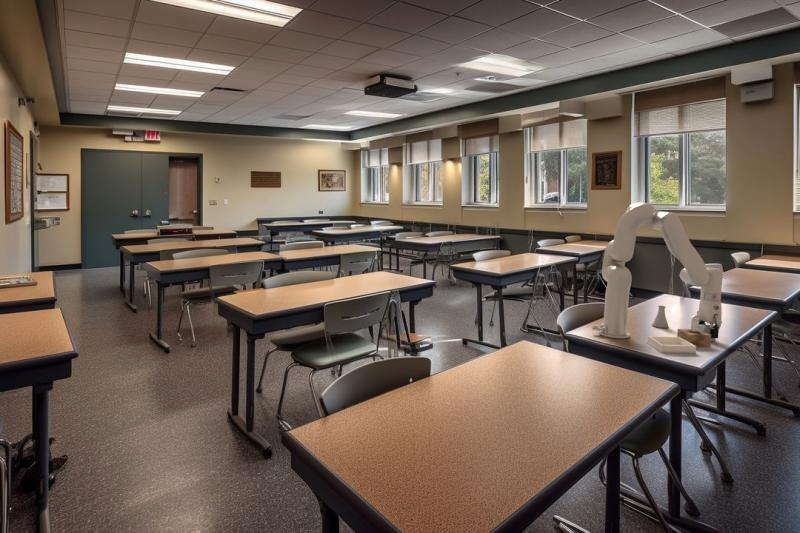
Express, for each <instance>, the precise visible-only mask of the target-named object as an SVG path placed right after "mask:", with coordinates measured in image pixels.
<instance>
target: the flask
mask: <svg viewBox="0 0 800 533" xmlns="http://www.w3.org/2000/svg"><path fill="white" fill-rule="evenodd" d="M657 307H658V310H657V314H656V316H655V318H654V319H653V322H652V324H651V326H652V327H655V328H661V329H667V328H670V327H669V323H668V321H667V320H668V319H667V317H666V311H665V310H666V308H667V306H665V305H658V306H657Z"/></svg>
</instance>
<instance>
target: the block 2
mask: <svg viewBox="0 0 800 533" xmlns="http://www.w3.org/2000/svg"><path fill="white" fill-rule="evenodd" d="M698 329H700V330H702V331H704V332H706V333H708V334H710V329H712V328H711V325H710V324H706V325H699V328H698ZM716 339H717V338H711V342H716Z"/></svg>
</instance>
